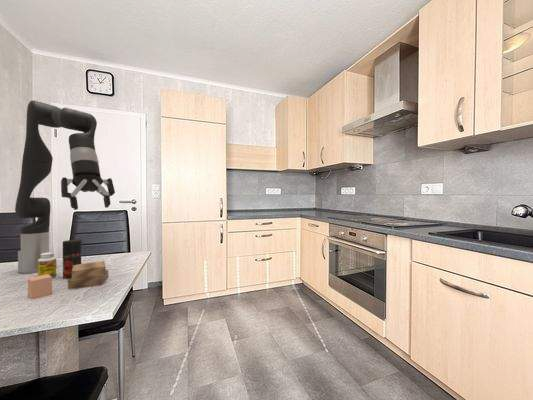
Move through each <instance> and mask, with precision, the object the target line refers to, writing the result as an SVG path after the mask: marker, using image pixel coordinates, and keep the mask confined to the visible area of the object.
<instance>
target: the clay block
mask: <svg viewBox="0 0 533 400" xmlns="http://www.w3.org/2000/svg"><path fill="white" fill-rule="evenodd" d="M50 295H53V278H52V277H51V276H50V275H48V274H46V275H41V276H38V275H37V276H32V277H27V297H28V298H29V299H31V300H34V299H35V300H36V299H39V298H42V297H46V296H50Z"/></svg>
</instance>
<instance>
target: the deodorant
mask: <svg viewBox="0 0 533 400" xmlns="http://www.w3.org/2000/svg"><path fill="white" fill-rule="evenodd" d="M78 264H82V240H81V239H70V240H64V241H62V279H64V280H70V279H71V278H72V268H73V265H78Z"/></svg>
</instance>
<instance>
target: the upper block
mask: <svg viewBox="0 0 533 400" xmlns="http://www.w3.org/2000/svg"><path fill="white" fill-rule="evenodd" d="M105 263H106V262H105V260H102V261H95V262H94V261H93V262H88V263H87V262H86V263H81V264H78V265H73V268H72V281H75V280H81V279H87V278H93V277H99V276H105V275H106V270H107V269H106V264H105Z"/></svg>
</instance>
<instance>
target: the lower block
mask: <svg viewBox="0 0 533 400" xmlns="http://www.w3.org/2000/svg"><path fill="white" fill-rule="evenodd" d="M108 278H109V269H106V275H105V276H99V277H93V278H87V279H81V280H75V281H72V278H71V279H67V289H68V290H71V289H80V288H89V287H97V286H101V285H102V284H104V282H105V281H106V280H107V279H108Z"/></svg>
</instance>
